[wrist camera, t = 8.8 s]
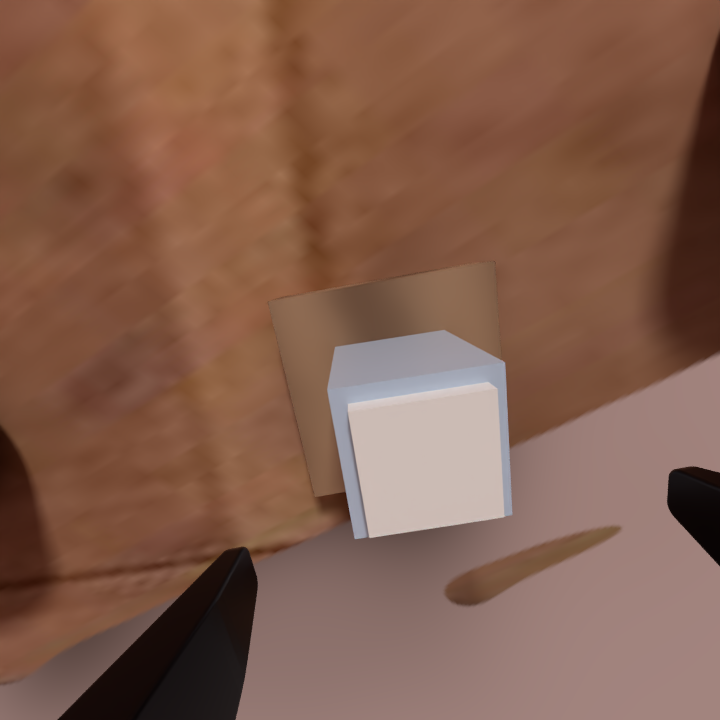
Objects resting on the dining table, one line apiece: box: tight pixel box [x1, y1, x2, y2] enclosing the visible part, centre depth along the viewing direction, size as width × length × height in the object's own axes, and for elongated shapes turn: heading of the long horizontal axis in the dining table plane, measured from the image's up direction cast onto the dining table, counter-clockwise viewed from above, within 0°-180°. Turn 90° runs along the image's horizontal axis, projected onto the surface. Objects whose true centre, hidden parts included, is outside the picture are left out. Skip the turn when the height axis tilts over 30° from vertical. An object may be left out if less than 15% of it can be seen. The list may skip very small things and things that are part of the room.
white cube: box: [327, 330, 512, 539], centre depth 12 cm, size 5×5×7 cm
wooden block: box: [268, 261, 502, 497], centre depth 17 cm, size 10×10×4 cm
